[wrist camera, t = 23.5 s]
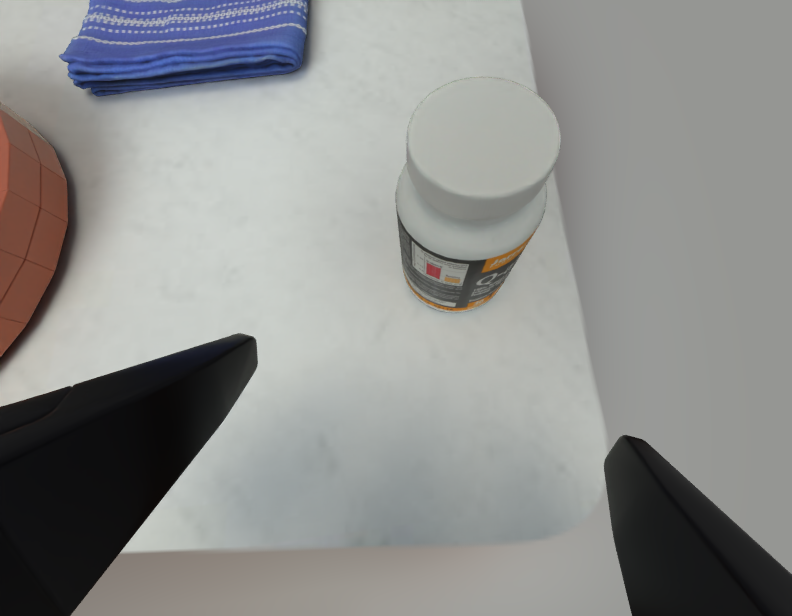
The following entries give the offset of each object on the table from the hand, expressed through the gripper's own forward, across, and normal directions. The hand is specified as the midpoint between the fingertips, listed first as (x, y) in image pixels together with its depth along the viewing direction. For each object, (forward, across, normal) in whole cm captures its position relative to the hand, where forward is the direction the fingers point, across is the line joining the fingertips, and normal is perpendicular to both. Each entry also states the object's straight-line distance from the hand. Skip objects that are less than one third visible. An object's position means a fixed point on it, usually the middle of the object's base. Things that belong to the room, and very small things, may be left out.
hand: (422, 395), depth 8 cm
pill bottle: (+13, 0, +1) cm, 13 cm away
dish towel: (+27, +25, -13) cm, 39 cm away
